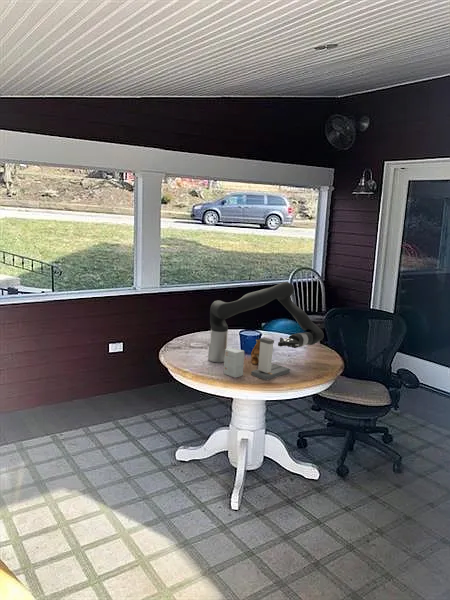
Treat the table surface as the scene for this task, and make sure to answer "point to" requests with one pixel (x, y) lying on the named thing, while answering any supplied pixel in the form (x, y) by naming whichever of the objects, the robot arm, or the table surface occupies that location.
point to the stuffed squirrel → (255, 353)
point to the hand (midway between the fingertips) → (279, 344)
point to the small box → (234, 362)
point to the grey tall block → (265, 354)
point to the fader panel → (275, 371)
